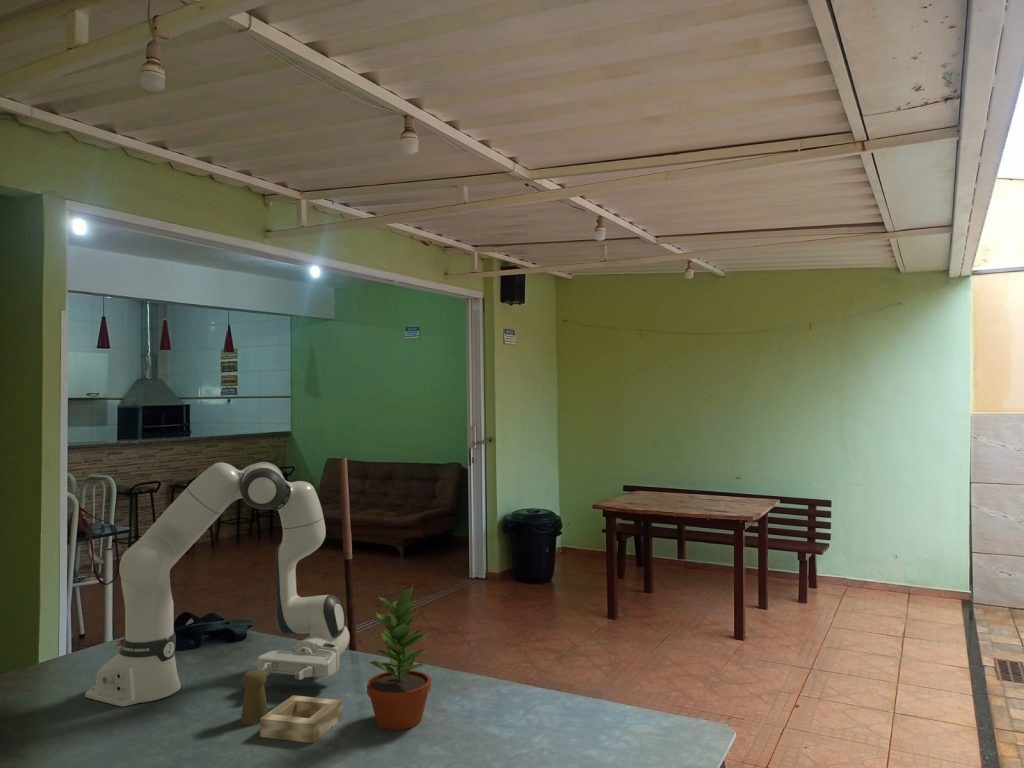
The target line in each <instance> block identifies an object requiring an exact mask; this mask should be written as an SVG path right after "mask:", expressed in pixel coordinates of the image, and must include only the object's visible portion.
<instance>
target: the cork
mask: <svg viewBox="0 0 1024 768" xmlns="http://www.w3.org/2000/svg"><path fill="white" fill-rule="evenodd" d="M266 682H267V676H266V673H265V672H264V671H262V670H258V669H253V670H251V669H250V670H249V671H248V670H247V672H246V673H244V675H243V676H242V685H243V687H244V688H245V689H244V695H243V696H244V697H243V703H242V711H241V719H240V723H241V724H242V725H244V726H256V725H255V724H257V725H259V724H258V723H260V718H261V717H263V716H264V715H266V714H267V713H268V712H269V711H268V704H267V697H266V690H265V684H266Z"/></svg>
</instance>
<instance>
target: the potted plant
mask: <svg viewBox="0 0 1024 768" xmlns="http://www.w3.org/2000/svg"><path fill="white" fill-rule="evenodd" d="M413 588H414V585H411V587H410V588H406V589H405V590H403V591H402V592H401V594H400V596H399V598H398V599H397V600H395V601H393V602H392V603H391V602H390V601H389V600H388V599H386V598H385V597H378V599H379V600H380V601H381V602H382V603H383V605H384V607H386V609H387V610H388V611H389V612H390V615H387V614H385V613H380V614H379V613H378V612H375V614H376V617H375V618H374V616H372V618H373V619H374V620H376V621H377V622H379V623H381V624H382V625H384V627H385V628H387V630H388V631H386V630H385V628H383V630H382V629H381V628H380V627H379V626H378V625H377V624H374V625H376V627H377V628H378V630H380V631H381V632H382V633H381V637H382V639H383V641H384V645H386V647H387V649H388V652H387V651H384V650H381V649H377V650H375V652H377V653H379V654H381V655H384V656H386V657H388V658H389V662H380V661H377V660H371V661H368V660H366V662H367V663H369V664H372V665H373V666H375V667H377V668H379V669H381V670H383V671H384V672H382V673H378V674H376V675H374V676H372V677H370V679H369V680H367V683H366V695H368V698H370V702H371V705H372V709H373V714H374V716H375V720H376V724H377V723H378V724H377V726H378V727H380V726H381V727H382V729H384V728H386V729H385V730H387V729H391V730H390V731H403V730H407V729H408V728H409V729H411V728H414V727H416V726H418V725H419V724H420V723H421V722H422V719H423V716H424V711H425V707H426V702H427V700H428V694H429V693H430V691H432V690H431V689H432V688H431V686H432V685H431V680H432V679H431V677H430V675H429V674H428V673H426V672H423V671H419V670H413V669H417V668H422V667H425V664H424V663H417V664H416V663H415V664H414V662H415V659H416V658H417V657H418V656H420V655H422V654H425V653H427V652H428V651H430V649H428V650H426V649H420V650H417V651H414V650H415V649H413V648H412V651H410V652H407V653H406V649H407V648H409V647H411V646H413V645H414V644H416V643H417V642H419V641H420V640H422V639H424V638H425V637H427V636H429V633H428V634H426V635H425V634H423V633H422V634H420V633H421V632H422V631H424V630H417V631H415V632H413V633H411V634H409V633H410V631H411V624H412V623H413V620H415V618H416V616H417V613H418V612H419V610H418V609H416V610H414V612H410V610H411V609H412V607H413V606H414V604H415V602H416V598H415V599H413V600H411V601H410V599H411V596H412V593H413V591H414V590H413ZM381 727H380V728H381ZM402 729H403V730H402Z"/></svg>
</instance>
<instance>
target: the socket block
mask: <svg viewBox="0 0 1024 768" xmlns="http://www.w3.org/2000/svg"><path fill="white" fill-rule="evenodd" d="M343 703H344V701H343V700H342V699H333V698H321V697H312V696H304V695H303V696H302V695H294V694H293V695H291V696H290V697H288V698H287V699H286V700H284V701H283V702H281V703H280V704H278V705H277V706H276V707H274V708H273V709H271V710H269V711H268V713H267V714H266V715H264V716H263V717H261V718H260V724H259V737H260V738H267V739H277V740H285V741H292V742H301V743H308V744H314V743H316V742H317V741H318V740H320V738H322V737H323V736H324V735H325V734H326V733H327V732H329V730H331V729H332V728H333V727H334V726H335V725H336V724H337V722H338V721H339V720H340V719H341V718H342V717H344V716H343V715H344V712H343V710H344V709H343V707H344V706H343V705H344V704H343ZM342 719H343V718H342ZM342 719H341V720H342ZM341 720H340V721H341ZM340 721H339V722H340ZM339 722H338V723H339ZM332 726H333V727H332ZM331 727H332V728H331ZM330 728H331V729H330Z"/></svg>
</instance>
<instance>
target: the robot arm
mask: <svg viewBox="0 0 1024 768" xmlns="http://www.w3.org/2000/svg"><path fill="white" fill-rule="evenodd" d="M239 499H243V501H244V502H245V503H246V504H247V505H248V506H250V508H251V507H252V508H254V509H259V510H273V511H274V510H276V511H277V512H278V514H279V517H280V521H281V522H280V523H281V527H282V538H281V543H279V544H278V546H277V548H276V549H275V550H276V551H275V558H274V559H275V560H274V561H275V562H274V563H275V566H274V567H275V584H276V585H275V586H276V587H275V588H276V608H275V623H276V626H277V628H278V630H279V631H280V632H281V633H282V634H283V635H284V636H288V637H291V636H298V635H303V634H309V635H308V637H306V638H304V639H302V640H301V641H299V642H298V643H297V644H295V646H294V647H293V649H292V650H289V649H288V650H287V649H273V650H270V651H268V652H265V653H263V654H261V655H259V656H258V657H257V662H256V663H257V665H256V666H257V667H256V668H257V670H262V671H264V672H265V673H266V677H268V676H269V675H271V673H272V674H281V675H291V676H292V675H293V676H294V679H295V680H300V681H301V680H303V679H304V678H310V677H312V678H321V679H322V678H323V679H324V678H330V677H331V676H333V675H334V674H335V673H337V672H338V671H339V670H340V657H341V655H342V654H343V653H344V651H346V649H347V647H348V646H349V644H350V636H351V635H350V632H349V630H348V627H347V626H346V612H345V609H344V608H345V607H344V606H343V604H342V602H341V601H340V600H339V599H338V598H337V597H336V595H334V594H322V595H313V596H303V597H301V596H300V595H299V594H298V593H297V576H296V575H297V573H296V572H297V571H296V568H297V564H298V563H299V561H301V560H302V559H304V558H306V557H307V556H310V555H311V554H312V553H314V552H315V551H316V550H318V549H319V548H320V547H321V546H322V545H323V543H324V541H325V539H326V536H327V535H326V534H327V533H326V531H327V530H326V524H325V518H324V514H323V508H322V505H321V502H320V499H319V496H318V494H317V492H316V490H315V487H314V486H313V485H312V484H311V483H309V482H308V481H304V480H297V481H292V482H291V481H288V480H286V479H285V477H284V476H283V472H282V471H281V469H280V468H279V467H278V466H277V465H276V463H273V462H270V461H266V460H261V461H255V462H253V463H250V464H247V465H244V466H240V467H239V468H236V467H235V466H234V465H232V464H230V463H226V462H223V461H222V462H216V463H214V464H212V465H211V466H209V467H208V468H207V469H206V470H204V471H203V472H202V473H200V474H199V475H198V476H197V477H196V478H195V479H194V480H193V481H192V482H191V483H190V484H189V485H188V486H187V487H186V488H185V489H184V490H183V491H182V492H181V493H180V494H179V495H178V496H177V497H176V499H175V500H174V501H173V502H172V503H171V504H170V505H169V506H168V507H167V508H166V509H165V510H164V511H163V513H161V515H160V516H159V517H158V518H157V520H156V521H154V523H153V524H152V525H151V526H150V527H149V528H148V529H147V531H146V532H145V533H144V534H143V535H142V536H141V537H140V538H139V539H138V540H136V541H135V543H133V544H132V545H131V546H130V547H129V548H127V549H126V550H125V552H124V553H123V554H122V556H121V559H120V561H119V566H118V570H119V571H118V572H119V577H120V582H121V590H122V597H123V600H124V610H125V611H124V613H125V619H124V623H125V628H124V630H125V631H124V632H125V633H124V634H125V637H123V638H122V639H121V640H118V641H116V642H115V644H116V645H115V646H116V647H119V646H120V649H119V652H118V653H117V654H115V656H113V657H112V658H111V659H110V660H108V662H106V663H105V664H104V665H102V666H101V668H100V669H99V670H98V672H97V675H96V680H95V685H94V686H92V687H90V688H89V689H87V691H86V692H85V693H84V697H85V698H86V699H87V698H88V699H91V700H94V701H99V702H103V703H107V704H111V705H114V706H118V707H127V706H132V705H134V704H139V703H147V702H152V701H157V700H160V699H163V698H164V699H165V698H167V697H169V696H172V695H174V694H175V693H177V692H178V691H179V690H180V689H181V688H182V685H181V682H180V679H179V674H178V670H177V669H178V668H177V663H176V656H175V651H176V646H177V645H176V632H175V630H174V627H175V626H174V625H175V624H174V621H175V620H174V599H173V596H172V589H171V587H172V586H171V576H170V575H171V569H172V568H173V567H174V565H176V563H178V562H179V560H180V559H181V558H182V557H183V556H184V555H185V554H186V552H188V550H189V549H190V548H191V547H192V546H193V545H194V544H195V543H197V541H198V540H199V539H200V537H201V536H203V534H204V533H205V532H206V531H207V530H208V529H209V528H210V527H211V525H213V524H214V523H215V521H216V520H218V518H219V517H220V516H221V515H222V514H223V512H224V511H225V510H226V509H227V508H228V507H229V506H230V505H231V504H232V503H233V502H235V501H237V500H239Z"/></svg>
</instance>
